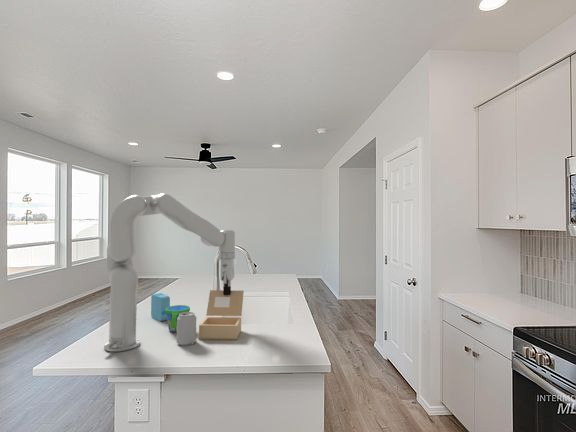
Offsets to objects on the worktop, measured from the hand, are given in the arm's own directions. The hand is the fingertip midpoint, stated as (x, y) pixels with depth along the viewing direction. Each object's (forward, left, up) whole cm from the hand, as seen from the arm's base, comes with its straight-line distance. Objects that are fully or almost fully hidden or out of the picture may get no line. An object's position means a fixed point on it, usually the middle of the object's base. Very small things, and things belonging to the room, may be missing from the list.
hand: (227, 294), depth 154 cm
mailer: (-11, 0, -15) cm, 19 cm away
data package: (+13, +36, -16) cm, 42 cm away
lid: (-2, 0, -3) cm, 4 cm away
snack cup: (-5, +21, -16) cm, 27 cm away
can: (-21, +12, -16) cm, 29 cm away
